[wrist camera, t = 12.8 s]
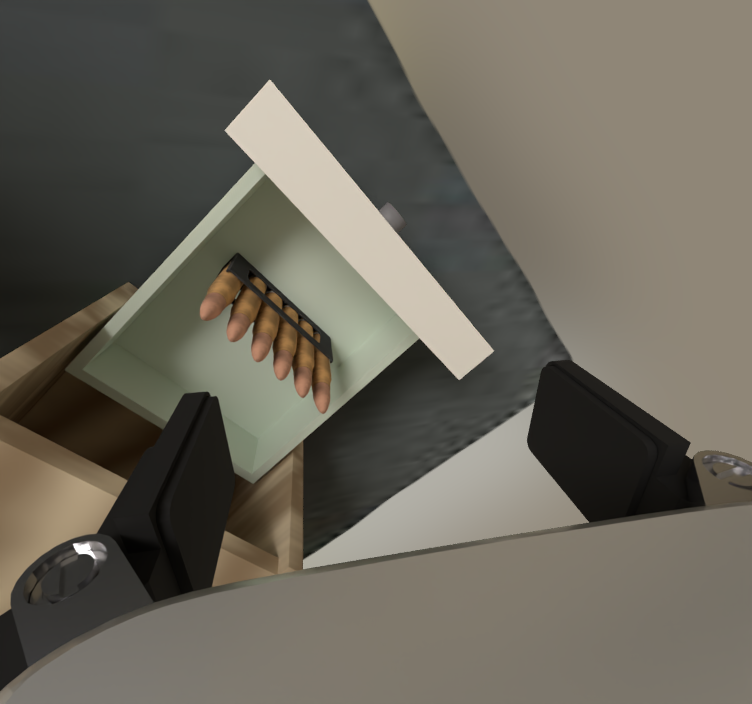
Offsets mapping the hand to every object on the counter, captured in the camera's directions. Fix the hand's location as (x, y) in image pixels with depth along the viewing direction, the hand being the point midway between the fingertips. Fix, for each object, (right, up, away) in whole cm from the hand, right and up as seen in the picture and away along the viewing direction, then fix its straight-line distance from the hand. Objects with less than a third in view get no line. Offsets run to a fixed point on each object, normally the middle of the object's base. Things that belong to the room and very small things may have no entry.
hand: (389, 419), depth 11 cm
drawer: (-9, +6, +22) cm, 25 cm away
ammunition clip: (-9, +6, +21) cm, 24 cm away
